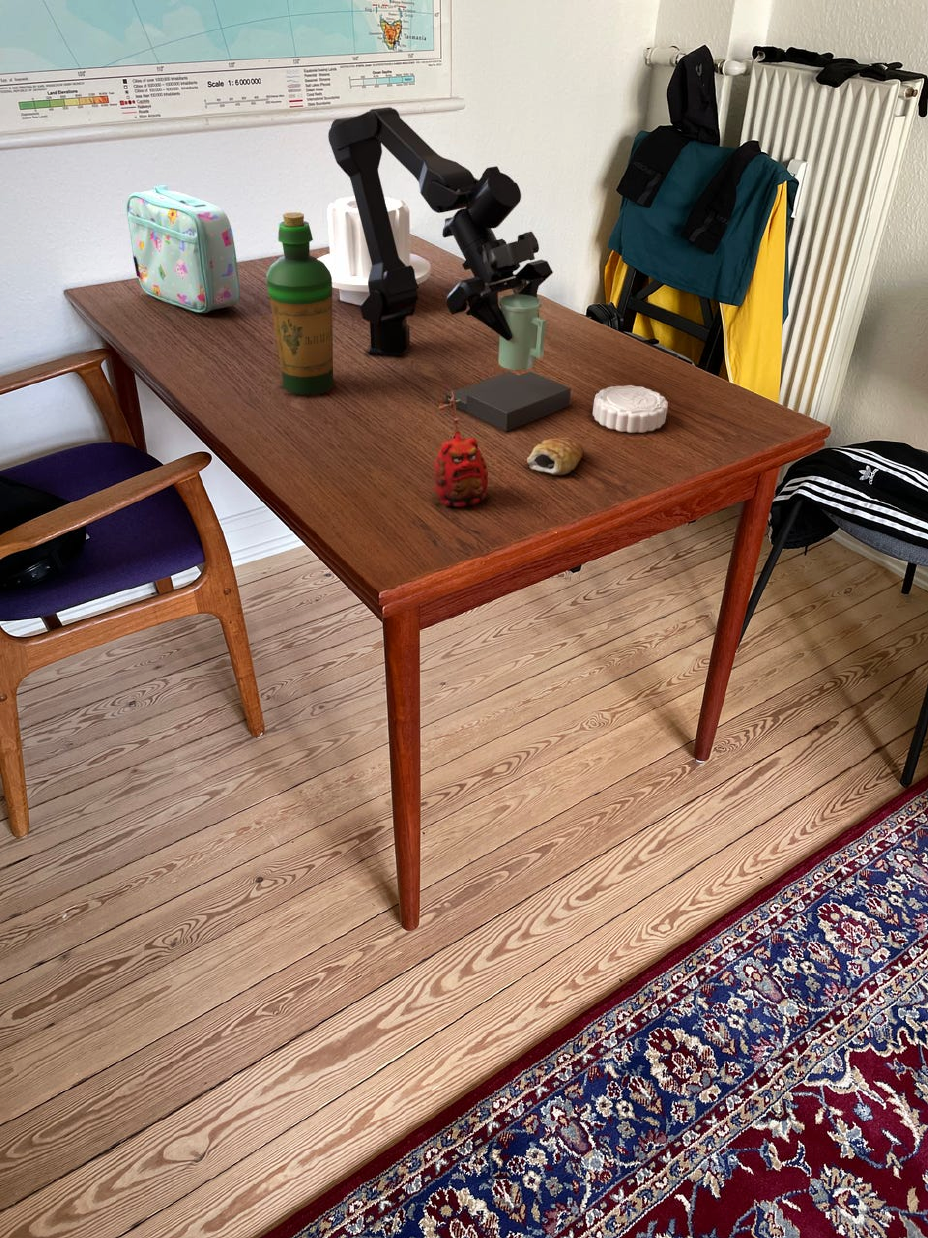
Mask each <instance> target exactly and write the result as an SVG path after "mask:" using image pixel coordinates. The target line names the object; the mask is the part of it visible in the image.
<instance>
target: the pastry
mask: <svg viewBox="0 0 928 1238" xmlns="http://www.w3.org/2000/svg"><path fill="white" fill-rule="evenodd" d="M583 451H584V448H583V445H582V443H580V442H578V441H577V440H574V439H573V438H571V437H556V438H549V439H544V440H542V441H541V443H537V444H536V445H535V446H534V447H533V448H532V450H531V453H530V455H529V456H528V457H527V458H526V461H527V464H528V466H529V468H530V469H531V470H533V471H536V472H539V473H545V474H549V475H553V476H563V475H566V474H567V475H568V474H569V473H571V472H572V471H574V470H575V469H576V467H577V465H578V464H579V462H580V461H581V458H582V456H583Z"/></svg>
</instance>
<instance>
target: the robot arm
mask: <svg viewBox="0 0 928 1238" xmlns="http://www.w3.org/2000/svg"><path fill="white" fill-rule="evenodd" d="M327 135H328V136H327V138H328V142H329V145H330V149H331V152H332V154H333V156H334V160H335V162H336V163H337V165H338V166H339V167H340V169H341V170H342V171H343V172H344V173H345V174H346V175H347V177H348V178H349V180H350V185H351V188H352V192H353V196H355V200H356V204H357V208H358V212H359V215H360V219H361V223H362V227H363V231H364V235H365V239H366V243H367V247H368V251H369V255H370V258H371V263H372V267H371V271H370V275H369V280H368V287H369V293H370V295H369V296H368V297H367V299H366V300H365V301H364V303H363V304H362V305H361V306H360V305H359V310H360V313H361V319H363V320H365V321H367V322H369V332H370V333H369V335H370V347H369V349H368V351H367V352H368V354H370V355H379V356H390V357H398V358H399V357H400V358H401V357H403V355H404V354H405V352H406V351H407V350H408V348H409V347H410V346H411V342H410V341H411V338H410V337H411V336H410V333H411V331H410V324H409V323H407V317H412V316H414V313H415V310H416V307H417V301H418V300H419V291H418V290H419V289H420V287H419V284H417V282H416V279H415V273H414V269H413V267H412V266H411V265H410V266H406V265H405V264H404V263H403V262H402V261H401V260H400V258H399V256H398V252H397V248H396V243H395V239H394V235H393V231H392V227H391V223H390V219H389V215H388V211H387V207H386V203H385V199H384V197H385V195H384V191H383V190H384V189H383V187H382V183H381V178H380V174H379V168H380V167H379V166H380V163H381V159H382V155H383V148H382V146H383V147H384V148H385V149H386V150H387V151H388V152H389V153H390V154H391V155H392V156H393V157H394V158H395V159H396V160H397V161H398V162H399V163H400V164H401V165H402V166H403V167H404V168H405V169H406V170H407V171H408V172H409V173H410V174H411V175H412V176H413V177H414V178H415V180H416V181H417V182H418V186H419V193H420V195H421V196H422V198H423V199H424V201H425V202H426V204H428V206H429V207H430V209H431V210H432V211H433V212H435V213H438V214H441V213H447V212H451V211H456V210H457V211H456V212H455V214H454V215H453V216H452V217H451V216H450V217H446V218H445V219H444V226H443V229H442V233H441V235H442V237H443V238H448V237H453V238H454V240H455V242H456V244H457V245H458V248H459V249H460V252H461V253H462V256H463V257H464V259H465V260H464V261H463V263H462V264H461V265H462V268H463V270H464V271H467V270H470V271H471V273H472V275H473V277H470V278H465V279H463V280H460V281H459V282H458V283H457V285H455V287H453V289H452V290H451V291H450V292H449V293H448V294H447V296H446V307H447V309H448V311H449V312H450V314H451V315H452V316H453V315H457V314H460V313H464V312H465V314H466V316H471V317H473V318H475V319H476V320H478V321H479V322H481V323H482V324H484V325H485V326H487V327H488V328H490V329H491V330H492V331H494V333H496V334H497V335H498V336H499V335H500V336H502V337H503V338H504V339H506V340H507V341H509V340H511V339H512V334H511V331H510V328H509V326H508V324H507V322H506V320H505V318H504V316H503V313H502V311H501V306H500V305H499V293H502V292H506V291H508V290H512V292H513V295H515V294H521V295H529V296H533V297H536V298H538V291H539V287H540V286H541V285H542V284H543V283H545V282H546V280H547V279H548V278H549V277H550V276H552V275H553V273H554V271H553V270H552V267H551V265H550V264H549V262H548V261H547V260H545V259H538V260H535V259H536V257H535V254H536V253H539V250H540V246H539V241H538V239H537V237H536V236H535V234H534V232H533V231H528V232H523V233H522V234H518V235H517V240H516V241H511V242H508V243H507V241H506V240H505V239H503V238H499V239H497V237H496V235H495V233H494V231H493V229H497V228H498V227H500V225H501V224H502V223H503V222H504V221H505V220H506V219H507V218H508V216H509V215H510V214H511V213H512V212H513V211H514V209H515V208H517V206H518V205H519V204H520V203H521V200H522V192H521V188H520V186H519V185H518V183H517V182H515V181H514V180H513V178H511V177H510V176H509V175H507V174H506V173H503V172H501V171H500V169H499V167H498V166H496V165H495V166H489V167H487V168H485V170H484V171H483V173H482V175H481V177H480V178H479V179H478V178H476V177H474V175H473V173H472V172H471V171H470V170H469V169H468V168H466V167H465V166H463V165H462V164H460V163H459V162H457V161H455V160H452V159H448V158H445V157H443V156H441V155H440V154H438V153H437V152H436V151H435V150H434V149H433V148H432V147H431V146H430V145H429V144H428V143H427V142H426V141H425V140H424V139H423V138H422V137H421V136H419V134H418V133H417V132H415V131H414V129H413V128H411V126H409V125H408V123H406V122H405V121H404V119H402V118H401V116H400V114H399V112H398V110H397V109H395V108H393V107H391V106H386V107H380V108H379V107H378V108H371V109H369V110H368V111H366V112H364V113H363V114H360V115H357V116H350V117H342V118H336V119H334V120H332V123H331V125H330V128H329V130H328V134H327ZM527 261H530V262H527ZM524 262H527V263H526V264H524V266H523V267H522V268H521V264H522V263H524ZM519 268H521V269H520V270H519ZM518 270H519V271H518ZM515 271H518V272H517V273H515V274H514V272H515ZM468 307H469V309H467V308H468ZM537 331H538V330H537Z"/></svg>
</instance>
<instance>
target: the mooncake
mask: <svg viewBox="0 0 928 1238" xmlns="http://www.w3.org/2000/svg"><path fill="white" fill-rule="evenodd" d="M668 406H669V402H668V401H667V399H666V397H665V396H664V395H661V394H660V393H659V392H658V391H653V390H652V389H650V388H646V387H644V386H636V385H634V384H628V385H614V386H613V385H611V386H608V387H606V388H603V389H601V390H599V392H597V393H596V394H595V396H594V399H593V407H592V416H593V417H594V421H596V422H598V423H599V425H601V426H603V427H606V428H607V429H608V430H616V431H617V432H620V433H624V432H626V433H628V434H636V433H639V434H644V433H646V432H653V431H655V430H657V429H660V428H662V426H663V425H664V424H665V423H666V421H667V420H666V419H667V414H668Z"/></svg>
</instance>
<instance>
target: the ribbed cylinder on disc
mask: <svg viewBox="0 0 928 1238" xmlns="http://www.w3.org/2000/svg"><path fill="white" fill-rule="evenodd" d="M384 199H385V203H386V207H387V211H388V215H389V219H390V223H391V227H392V231H393V235H394V239H395V243H396V248H397V252H398V256H399V258H400V260H401V261H402V262H403V263H404V264H405V265H406V266H410V265H411V266H412V267H413V269H414V273H415V279H416V282H417V284H418V285H420V284H422V283H424V282H425V281H427V280H428V279H429V278H430V276H431V272H432V271H431V270H432V269H431V263H430V262H429V261H428V260H427V259H425V258H424V257H422V256H420V255H417V254H414V253H411V230H410V228H411V227H410V226H411V225H410V224H411V223H410V221H411V220H410V209H409V207H408V206H407V204H406V203H405V201H403V200H400V199H397V198H392V196H384ZM327 226H328V241H329V253H328V254H324V255H322V256H320V257H317V259H318V260H320V261H322V262H323V263H324V264H325V265H326V267H327V268H328V270H329V271H330V273H331V276H332V289H333V288H334V289H337V290H339V301H341V302H344V303H348V304H352V305H357V306H359V307H360V306H361V305H362V304H363V303H364V301H365V300H366V299H367V297H368V296H369V295H370V293H369V287H368V280H369V275H370V271H371V267H372V263H371V258H370V255H369V251H368V247H367V243H366V239H365V235H364V231H363V227H362V223H361V219H360V215H359V212H358V208H357V204H356V200H355V196H354V195H353V196H349V197H343V198H337V199H336V200H335V201H334V202H330V203H329V204H328V207H327Z"/></svg>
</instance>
